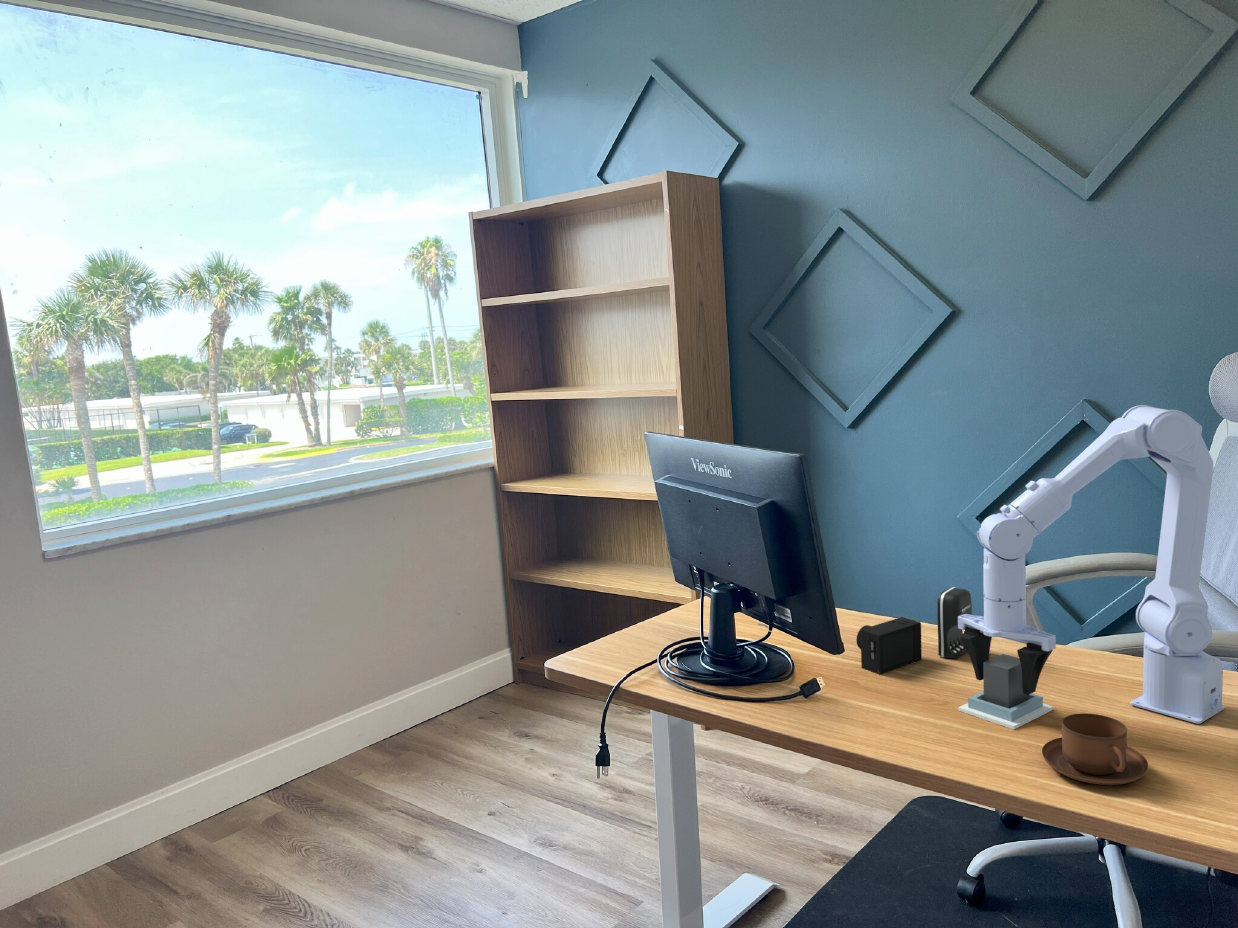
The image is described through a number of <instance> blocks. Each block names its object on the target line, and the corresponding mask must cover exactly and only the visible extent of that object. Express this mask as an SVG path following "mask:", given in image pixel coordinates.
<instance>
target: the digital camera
mask: <svg viewBox="0 0 1238 928" xmlns="http://www.w3.org/2000/svg"><path fill="white" fill-rule="evenodd" d="M856 646H857V647H858V649H860V654H861V655H860V656H861V657H860V659H861V660H860V661H861V669H862V670H866V671H868V672H871V673H874V674H876V675H879V676H880V675H884V674H886V673H887V674H888V673H890V672H892V671H896V670H898V669H901V668H904V667H907V666H910V665H913V664H915V663H918V662H920V661H922V658H923V657H922V655H923V654H922V623H921V621H917V620H914V619H910V618H906V617H903V616H901V617H897V618H893V619H890V620H888V621H884V622H881V623H878V624H874V625H868V624H867V625H863V626H861V628H860V629H859V630H858V631H857V635H856Z"/></svg>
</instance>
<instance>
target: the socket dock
mask: <svg viewBox="0 0 1238 928" xmlns="http://www.w3.org/2000/svg"><path fill="white" fill-rule="evenodd" d="M957 710H958V711H959V712H961V713H965V714H968V715H970V716H973V717H977V718H978V719H979V718H980V719H981V720H985V721H988V722H991V723H993V724H997V725H1000V726H1003V727H1004V728H1005V727H1006V728H1008V729H1011V730H1015V729H1017V728H1019V727H1022V726H1024V725H1026V724H1028V723H1029V722H1031V721H1033V720H1035V719H1038V718H1039V717H1042V716H1043V715H1045V714H1047V713H1049V712H1052V711H1054V706H1053V705H1049V704H1047V703H1044V697H1043V696H1042V695H1039V694H1034V693H1031V694H1029V695H1028V700H1027V701H1025V702H1023V703H1021V704H1019V705H1017V706H1015V707H1013V708H1010V709H1008V708H1005V707H1002V706H999V705H996V704H993V703H990V702H987V701H984V690H982V691H981V692H978V693H976V694H974V695H971V696H969V697H967V703H965V704H963V705H960V706H958V709H957Z"/></svg>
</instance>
